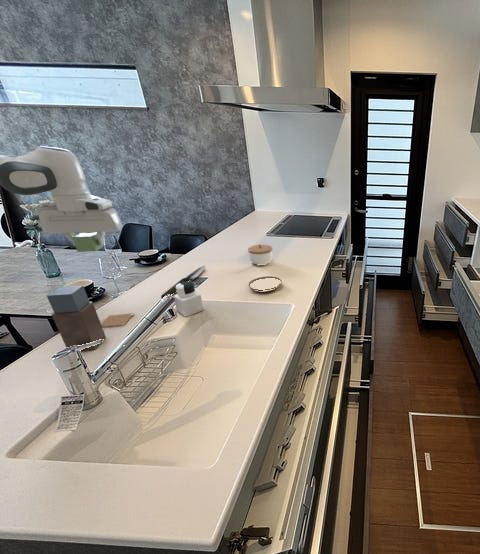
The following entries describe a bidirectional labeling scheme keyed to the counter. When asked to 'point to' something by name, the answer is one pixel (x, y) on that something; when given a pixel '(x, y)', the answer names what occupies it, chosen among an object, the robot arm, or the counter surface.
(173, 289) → the kitchen knife
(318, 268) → the counter surface
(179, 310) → the medicine bottle
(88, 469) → the counter surface
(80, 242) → the green box
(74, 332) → the storage box
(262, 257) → the lidded bowl
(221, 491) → the counter surface
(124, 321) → the cork mat
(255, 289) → the plant saucer
